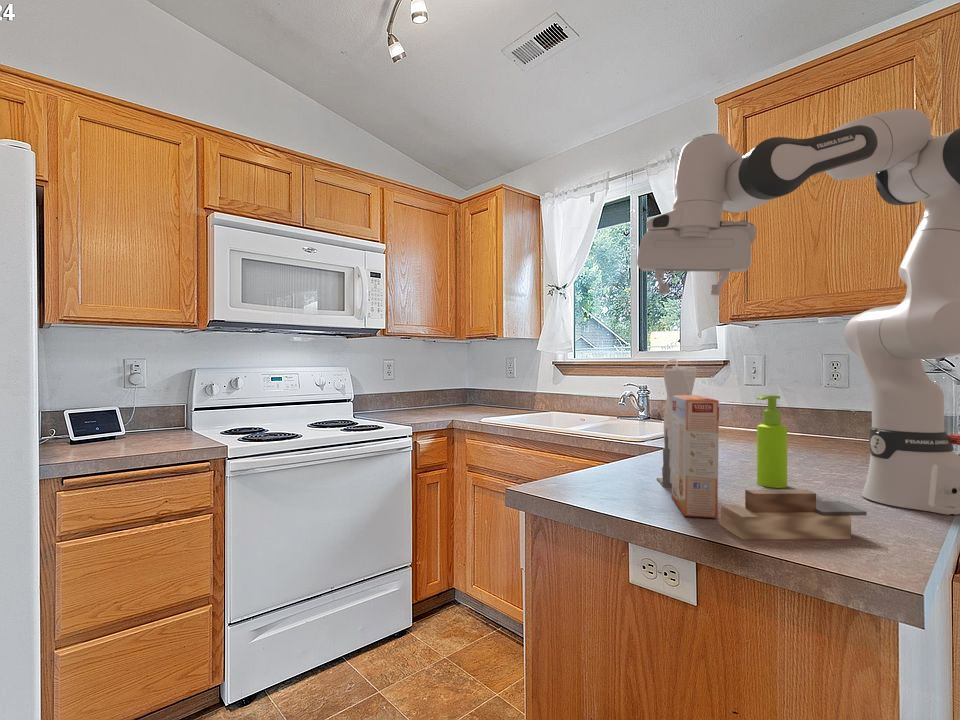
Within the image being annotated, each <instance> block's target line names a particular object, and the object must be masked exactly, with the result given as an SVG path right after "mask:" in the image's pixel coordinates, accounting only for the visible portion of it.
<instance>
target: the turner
mask: <svg viewBox="0 0 960 720" xmlns="http://www.w3.org/2000/svg"><path fill="white" fill-rule="evenodd" d="M744 492H745V495H744V504H745V508H746V509H748V510H750V511H752V512H754V513H810V512H815V513H817V514H820V515H822V516H851V517H853V516H859V517H860V516H865V517H866V516H867V513H868V512H867V511H866V510H863V509H860V508H857V507H855V506H853V505H850V504H849V503H848V504H847V503H844V502H842V501H836V500H834V501H832V500H831V501H825V500H824V501H822V500H821V501H820V500H819V501H818V500H817V493H815V492H813V491H810V490H808V489H745V491H744Z"/></svg>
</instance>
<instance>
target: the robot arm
mask: <svg viewBox="0 0 960 720" xmlns="http://www.w3.org/2000/svg"><path fill="white" fill-rule="evenodd" d="M676 169H677V170H676V176H675V177H676V178H675V190H676V197H675V200H674V202H673V206H672V210H670V211H667V212H664V213H661V214H658V215H656V216H652V217H649V219H647V221H646V228H647V230H648V231H647V232H645V233H644V235H643V236H642V237H641V240H640V243H639V244H640V245H639V249H638V252H637V253H638V254H637V259H636V260H637V261H636V265H637V267H638V268H639V269H640V270H641V271H643V272H654V277H655V279H656V281H657V282H658V284H659V286H658V293H659V295H668V294H669V289H670V288H669V287H670V285H669V284H668V283H664V281H663V279H662V278H663V277H665V272H710V273H711V272H719V276H720V279H719V280H718V282H717V283H716V284H711V291H710V295H711V296H721V294H722V293H721V291H722V287H723V286H724V285H725V283H726V282H727V280H728V279H729V278H730V276H729V275H730V273H731V272H733V273H736V272H739V273H740V272H741V273H743V272H744V273H745V272H747V271H748V270H750V268H751V266H752V247H751V246H752V244H753V243H754V242H755V240H756V235H757V228H756V225H754V224H753V223H751V222H749V221H748V220H744V219H743V220H722V218H723V217H722V216H723V212H726V213H730V214H742V213H747V212H750V211H751V210H753V209H755V208H757V207H759V206H760V207H761V206H762V205H763V204H766V203H769V202H771V201H772V200H775V199H778V198H780V197H783V196H787V195H789V194H791V193H793V192H794V191H796V190H797V189H798V188H800V186H802V185H803V184H804V183H805V181H807V180H808V179H809V178H810V177H812V176H815V175H819V174H822V173H826V174H827V175H828V176H829V177H830V178H832V179H834V180H836V181H846V180H848V181H849V180H855V179H860V178H864V177H869V176H870V175H871V176H872V175H874V176H875V178H874V181H875V182H874V184H875V187H876V191H877V192H878V194H879V196H880V197H881V199H883V201H884V202H886V203H887V204H890V205H892V206H908V205H914V204H917V203H919V202H922V201H923V202H924V214H923V217H922V219H921V220H920V222H919V224H918V225H917V228H916V230H915V232H914V234H913V235H912V238H911V240H910V242H909V244H908V247H907V248H906V251H905V254H904V256H903V258H902V260H901V263H900V264H899V267H898V276H899V278H900V280H901V281H902V282H903V283H904V284H905V285H906V293H905V296H904V298H903V300H902V301H901V302H900V303H899V304H893V305H884V306H878V307H873V308H870V309H868V310H865V311H863V312H861V313H858V314H856V315H855V316H853V317H851V318H850V319H849V320H848V322H847V323H846V324H845V325H846V326H845V329H844V340H845V343H846V345H847V347H848V348H849V349H850V350H851V351H852V352H853V353H854V354H855V355H856V356H857V357H858V359H859V361H860V362H861V365H862V366H863V369H864V371H865V374H866V378H867V380H868V384H869V389H870V397H871V399H870V401H871V402H870V403H871V404H870V405H871V426H870V427H869V428H868V445H869V450H870V456H869V457H870V458H869V463H868V464H869V465H868V471H867V476H866V479H865V480H866V481H865V484H864V487H863V488H862V489H863V490H862V493H861V496H862V497H863V498H865V499H867V500H870V501H873V502H875V503H879V504H883V505H888V506H894V507H898V508H904V509H911V510H919V511H925V512H926V511H927V512H932V513H937V514H942V515H949V516H951V515H950V514H954V515H960V455H958V454H957V453H956V452H955V451H954V450H955V449H954V447H953V445H958V446H960V434H957V433H952V434H950V435H949V434H948V433H947V432H946V431H945V396H944V395H945V394H944V391H943V389H942V388H941V387H940V386H939V385H938V384H937V383H935V382H934V381H933V380H932V379H930V377H929V375H927V373H926V371H925V369H924V366H923V363H922V360H927V359H928V360H931V359H932V360H939V359H945V358H948V357H953V356H958V355H960V127H958V128H957V129H955V130H953V131H951V132H947V133H944V134H942V135H939V136H936V137H935V136H934V135H932V124H931V121H930V119H929V117H928V116H927V115H926V114H925V113H924V112H923V111H921V110H919V109H916V108H900V109H899V108H898V109H892V110H891V109H890V110H887V111H881V112H876V113H872V114H870V115H866V116H862V117H859V118H856V119H853V120H851V121H849V122H846V123H843V124H842V125H839V126H838V127H836V128H835V129H833V130H831V131H829V132H826V133H824V134H823V133H822V134H819V135H816V136H813V137H807V138H794V137H793V138H792V137H785V136H775V137H770V138H767V139H765V140H763V141H761V142H759V143H758V144H757V145H756V146H755V147H753V148H752V149H751V150H750V151H748V152H747V153H746V154H745V155H744V154H743V153H741V152H739V151H737V150H736V149H735V148H734V147H732V146H731V144H730V143H729V142H728V140H727V139H726V137H725V135H723V134H719V133H707V134H703V135H701V136H697V137H696V136H695V138H693V139H691V140H689V142H687V143H686V144H685V145H684V146H683V147H682V149H681V152H680V156H679V160H678V164H677V168H676Z"/></svg>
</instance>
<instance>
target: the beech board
mask: <svg viewBox="0 0 960 720" xmlns="http://www.w3.org/2000/svg"><path fill="white" fill-rule="evenodd" d="M720 526H721V527H723V528H724V529H726V530H727V531H729V532H730V533H732V534H733V535H734V536H736V537H737V538H740V539H741V540H852V516H822V515H820V514H817V513H815V512H810V513H754V512H752V511H750V510H748V509H746V508H745V503H743V504H741V503H740V504H739V503H738V504H737V503H735V504H734V503H732V504H731V503H730V504H728V503H726V504H724V503H723V504H722V503H721V504H720Z"/></svg>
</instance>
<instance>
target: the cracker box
mask: <svg viewBox="0 0 960 720" xmlns="http://www.w3.org/2000/svg"><path fill="white" fill-rule="evenodd" d="M719 420H720V400H718V399H714V398H710V397H707V396H702V395H698V394H692V395H673V434H672V487H671V498H672V500H673V501H674V502H675V504H676V505H677V507H678V509H679V510H680V511H681V513H682V515H683V516H684V517H689V518H691V517H692V518H705V519H718V515H719V514H718V511H719V510H718V505H719V504H718V502H719V500H718V499H719V495H718V493H719V492H718V491H719V427H720V425H719V424H720V421H719Z"/></svg>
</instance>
